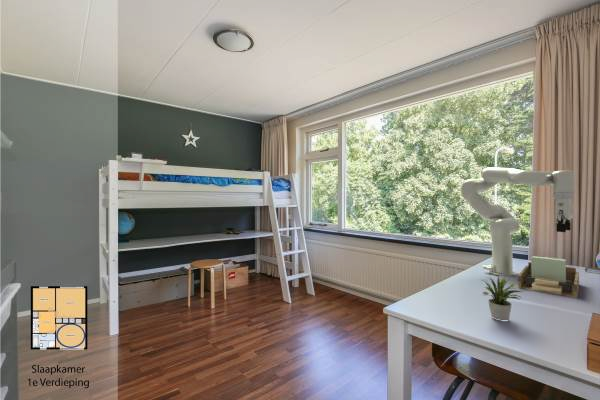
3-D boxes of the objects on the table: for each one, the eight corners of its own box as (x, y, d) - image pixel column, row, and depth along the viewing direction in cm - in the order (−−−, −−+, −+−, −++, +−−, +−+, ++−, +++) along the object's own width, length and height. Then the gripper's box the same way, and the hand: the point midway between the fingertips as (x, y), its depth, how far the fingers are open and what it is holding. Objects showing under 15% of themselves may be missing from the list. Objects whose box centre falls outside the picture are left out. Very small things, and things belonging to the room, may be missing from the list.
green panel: (565, 291, 127) (565, 260, 126) (531, 285, 135) (531, 257, 135) (566, 289, 129) (565, 259, 128) (532, 284, 137) (532, 256, 137)
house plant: (491, 328, 96) (490, 281, 95) (467, 312, 109) (466, 271, 109) (532, 327, 96) (531, 280, 95) (503, 311, 110) (502, 270, 109)
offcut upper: (558, 288, 123) (558, 283, 123) (534, 284, 129) (534, 279, 129) (559, 286, 126) (558, 280, 126) (536, 282, 132) (536, 277, 132)
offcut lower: (561, 295, 122) (561, 289, 122) (531, 290, 129) (531, 284, 129) (562, 291, 126) (562, 286, 126) (533, 287, 133) (533, 281, 133)
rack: (577, 300, 118) (577, 279, 118) (518, 290, 132) (517, 271, 132) (579, 286, 135) (578, 268, 135) (526, 278, 150) (526, 261, 149)
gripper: (569, 196, 127) (570, 233, 127) (578, 195, 137) (578, 230, 137) (548, 196, 133) (548, 231, 133) (557, 195, 143) (557, 228, 143)
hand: (563, 230), depth 135 cm, fingers open, 9 cm apart
